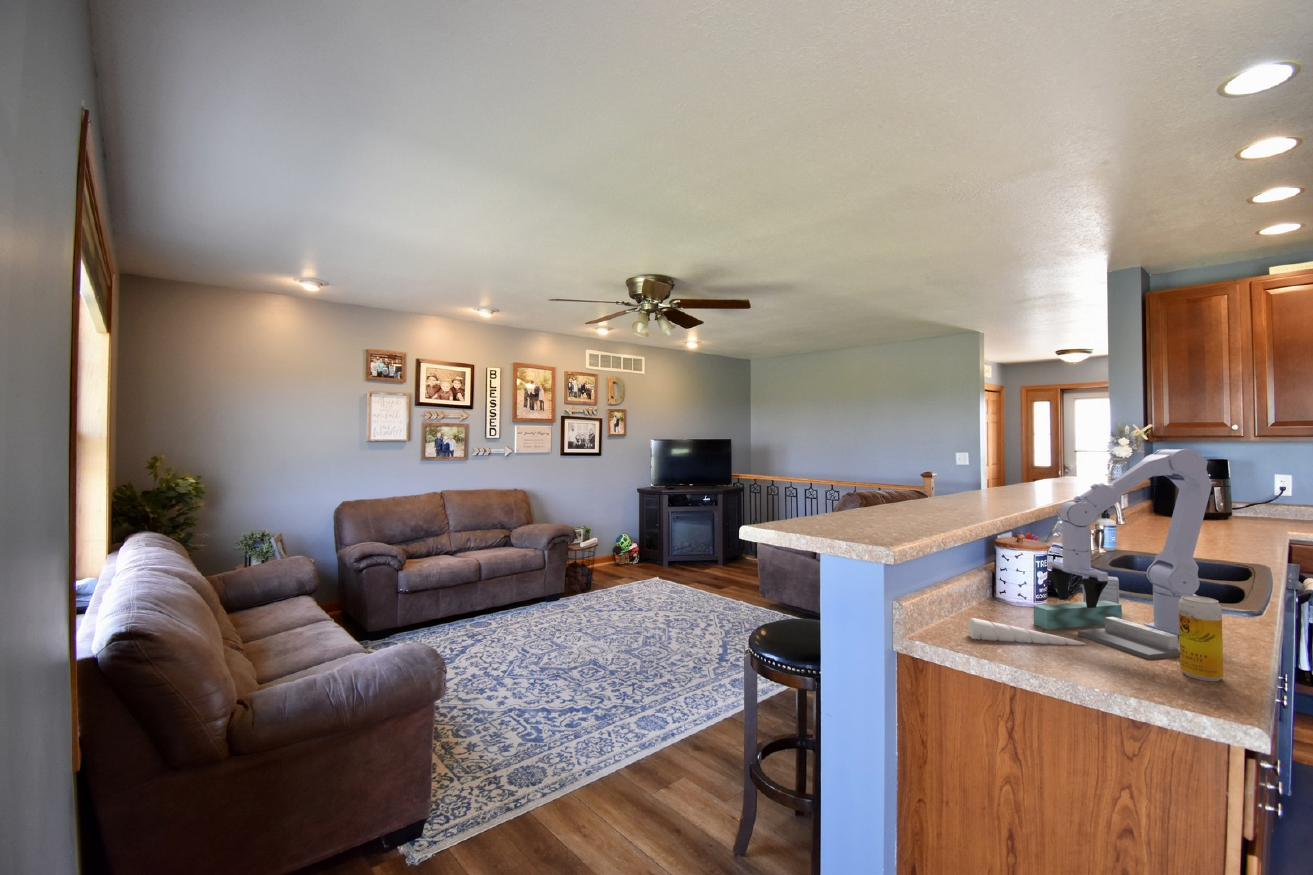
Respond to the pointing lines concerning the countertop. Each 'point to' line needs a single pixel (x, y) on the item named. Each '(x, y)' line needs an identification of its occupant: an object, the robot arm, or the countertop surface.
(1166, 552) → the robot arm
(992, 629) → the unicorn horn
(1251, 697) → the countertop surface
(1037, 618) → the teal wavy bar
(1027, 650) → the countertop surface
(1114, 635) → the ridge stand
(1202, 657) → the beer can
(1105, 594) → the medicine box
